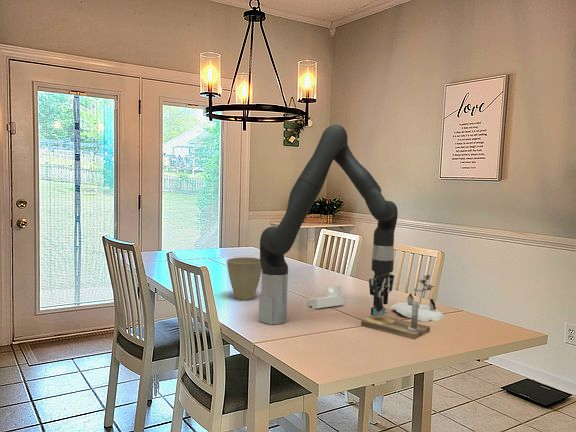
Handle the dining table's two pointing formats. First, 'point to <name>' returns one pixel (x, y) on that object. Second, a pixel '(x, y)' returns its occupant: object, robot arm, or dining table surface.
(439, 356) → the dining table surface
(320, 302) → the bracket
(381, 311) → the push button
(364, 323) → the gauge board
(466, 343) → the dining table surface
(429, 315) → the figurine
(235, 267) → the plant pot
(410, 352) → the dining table surface
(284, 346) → the dining table surface
